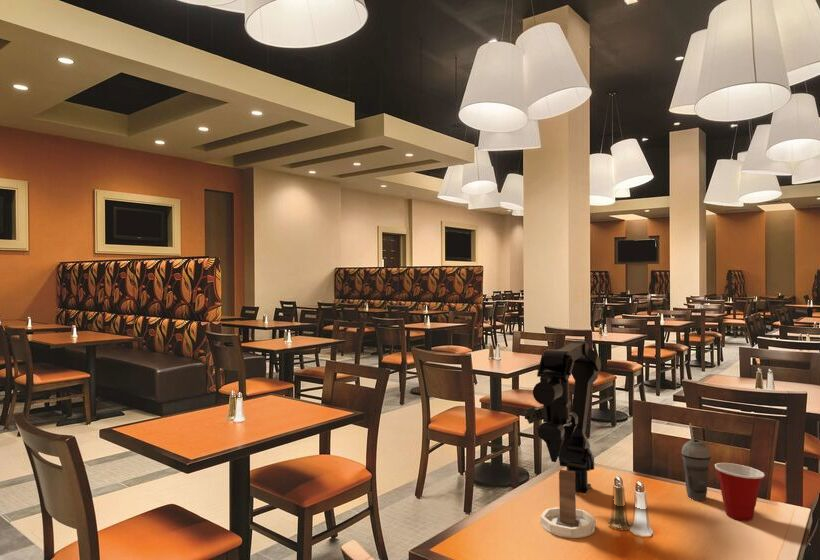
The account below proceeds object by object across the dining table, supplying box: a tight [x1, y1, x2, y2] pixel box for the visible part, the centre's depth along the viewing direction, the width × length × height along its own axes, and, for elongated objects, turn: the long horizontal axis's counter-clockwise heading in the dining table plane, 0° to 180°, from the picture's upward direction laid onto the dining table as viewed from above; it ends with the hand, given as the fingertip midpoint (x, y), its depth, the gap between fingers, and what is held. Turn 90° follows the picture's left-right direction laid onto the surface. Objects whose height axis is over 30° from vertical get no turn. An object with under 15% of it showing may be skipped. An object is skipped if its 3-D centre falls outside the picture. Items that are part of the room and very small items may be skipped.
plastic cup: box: [714, 462, 766, 522], centre depth 137 cm, size 11×11×12 cm
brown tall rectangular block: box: [556, 469, 580, 528], centre depth 133 cm, size 5×5×12 cm
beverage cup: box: [680, 423, 712, 502], centre depth 149 cm, size 7×7×20 cm
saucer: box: [540, 506, 596, 539], centre depth 133 cm, size 12×12×2 cm
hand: (558, 456), depth 145 cm, fingers open, 9 cm apart
